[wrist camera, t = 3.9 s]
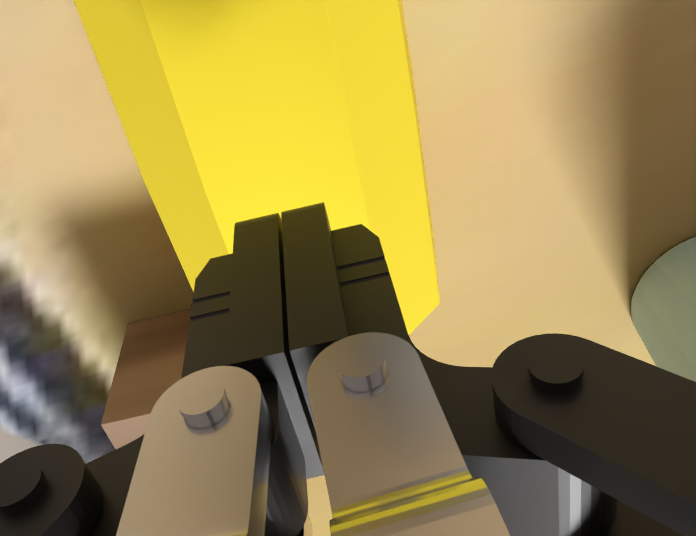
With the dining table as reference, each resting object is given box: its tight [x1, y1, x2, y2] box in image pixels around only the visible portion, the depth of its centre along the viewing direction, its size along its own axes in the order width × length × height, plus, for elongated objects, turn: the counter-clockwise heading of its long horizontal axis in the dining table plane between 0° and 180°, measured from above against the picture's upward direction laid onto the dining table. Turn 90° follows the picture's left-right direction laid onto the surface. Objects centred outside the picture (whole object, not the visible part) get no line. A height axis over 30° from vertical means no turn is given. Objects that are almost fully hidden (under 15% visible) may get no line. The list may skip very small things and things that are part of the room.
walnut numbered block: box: [101, 309, 191, 449], centre depth 23 cm, size 5×5×5 cm
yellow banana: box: [74, 0, 440, 335], centre depth 17 cm, size 18×7×8 cm
